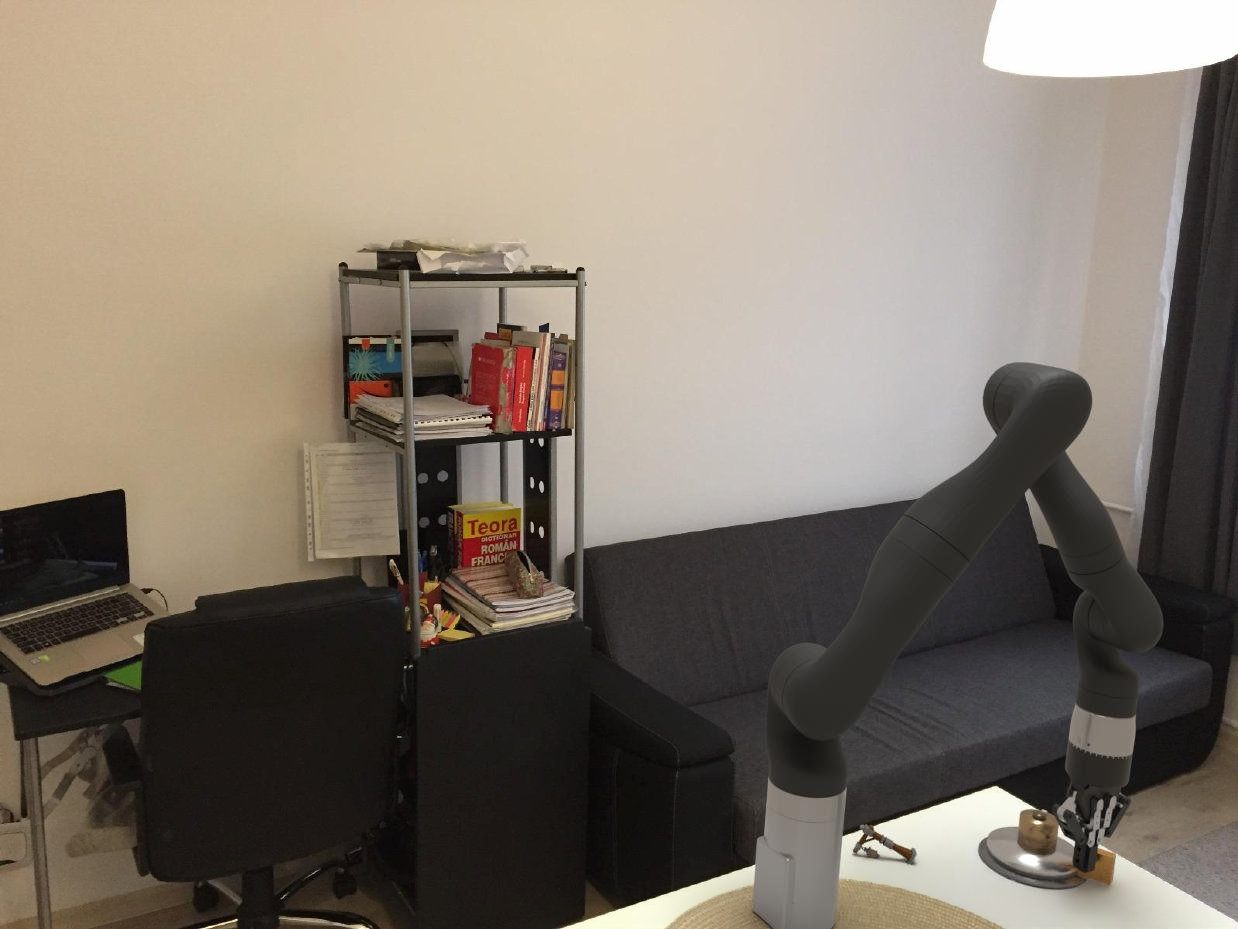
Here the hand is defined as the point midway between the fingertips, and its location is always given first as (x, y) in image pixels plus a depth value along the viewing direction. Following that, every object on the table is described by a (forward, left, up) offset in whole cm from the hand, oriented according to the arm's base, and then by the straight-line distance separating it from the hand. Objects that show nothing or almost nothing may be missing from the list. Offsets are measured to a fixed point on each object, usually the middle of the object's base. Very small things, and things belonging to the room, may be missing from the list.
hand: (1083, 869), depth 135 cm
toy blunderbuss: (-19, +16, -3) cm, 25 cm away
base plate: (0, +7, -3) cm, 8 cm away
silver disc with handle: (0, +6, -2) cm, 6 cm away
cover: (+1, +8, -1) cm, 8 cm away
